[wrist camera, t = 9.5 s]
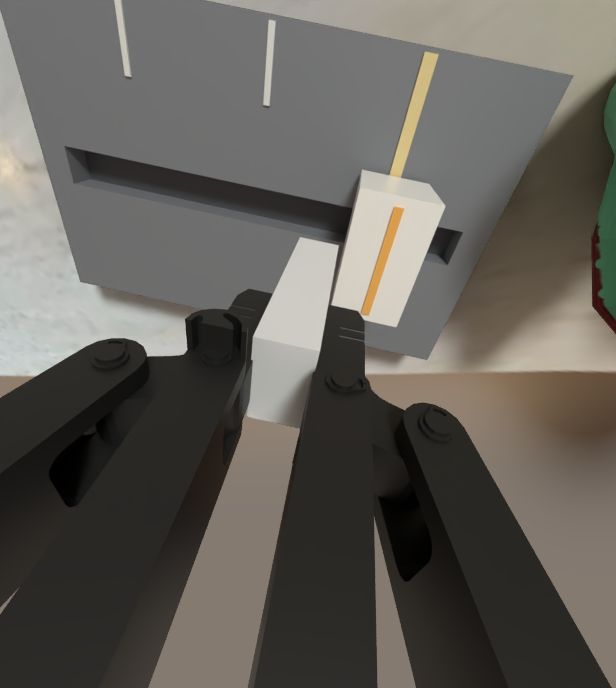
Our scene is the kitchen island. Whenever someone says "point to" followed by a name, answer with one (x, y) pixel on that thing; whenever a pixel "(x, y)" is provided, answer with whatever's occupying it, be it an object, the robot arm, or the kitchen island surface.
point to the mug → (606, 232)
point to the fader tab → (385, 245)
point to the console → (263, 144)
